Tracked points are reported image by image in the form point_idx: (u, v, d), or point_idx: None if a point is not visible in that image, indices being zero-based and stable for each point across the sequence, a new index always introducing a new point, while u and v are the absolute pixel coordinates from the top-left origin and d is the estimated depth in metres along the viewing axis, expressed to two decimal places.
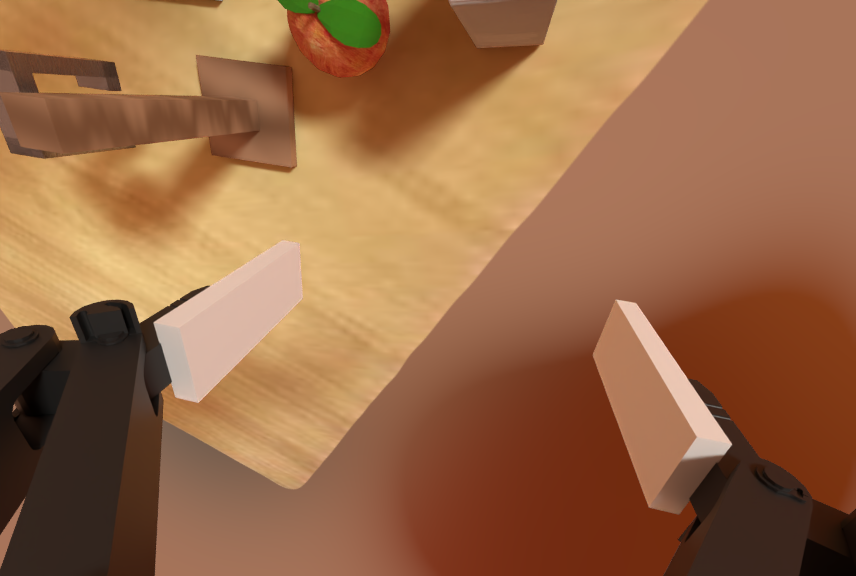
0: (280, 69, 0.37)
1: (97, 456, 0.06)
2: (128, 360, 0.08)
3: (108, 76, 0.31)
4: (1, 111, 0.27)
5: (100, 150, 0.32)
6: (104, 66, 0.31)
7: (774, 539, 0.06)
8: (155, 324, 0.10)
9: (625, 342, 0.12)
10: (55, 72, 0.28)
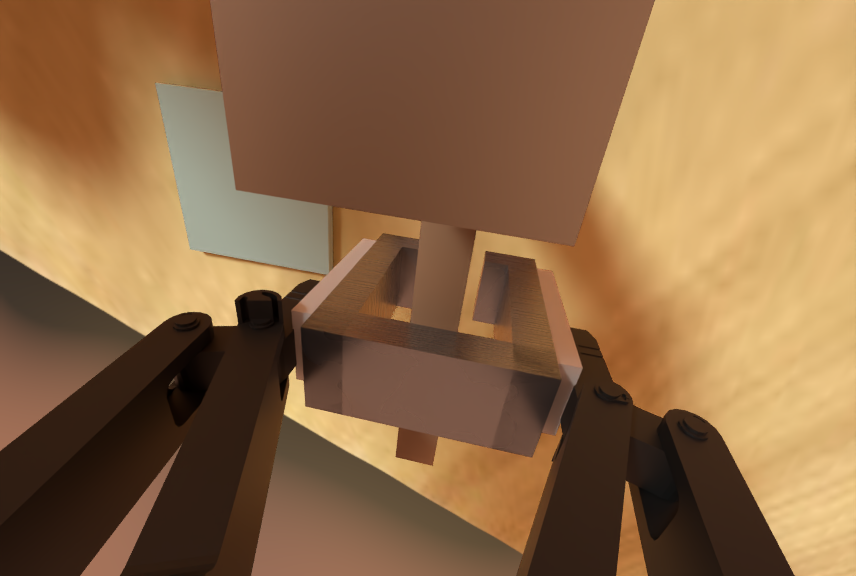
0: None
1: (232, 432, 0.07)
2: (269, 347, 0.09)
3: (401, 244, 0.16)
4: (433, 418, 0.11)
5: (540, 295, 0.13)
6: (384, 242, 0.16)
7: (610, 439, 0.08)
8: (292, 312, 0.11)
9: None
10: (370, 287, 0.12)
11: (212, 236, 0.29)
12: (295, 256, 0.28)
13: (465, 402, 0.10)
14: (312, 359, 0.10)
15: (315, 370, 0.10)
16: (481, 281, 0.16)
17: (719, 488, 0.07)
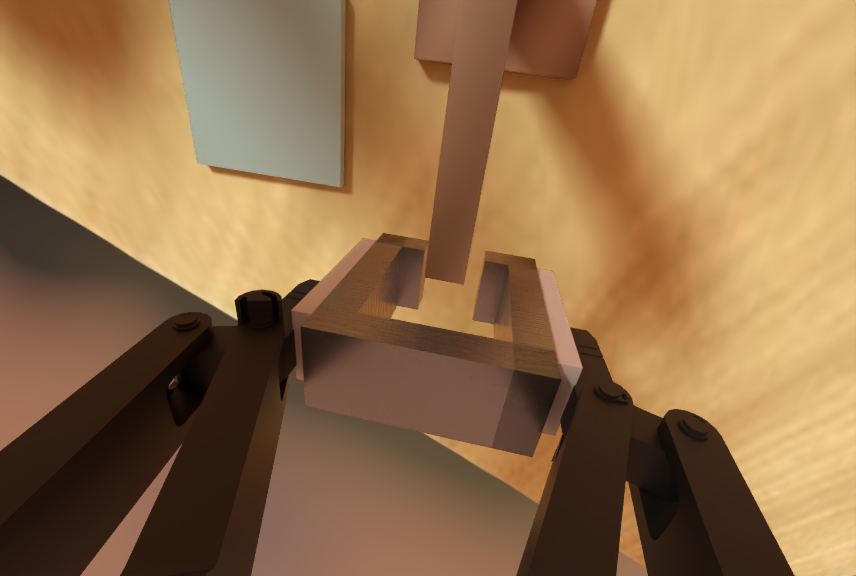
0: None
1: (231, 432, 0.07)
2: (269, 347, 0.09)
3: (401, 243, 0.16)
4: (433, 418, 0.11)
5: (540, 295, 0.13)
6: (384, 242, 0.16)
7: (610, 439, 0.08)
8: (292, 312, 0.11)
9: None
10: (370, 286, 0.12)
11: (220, 147, 0.28)
12: (306, 167, 0.28)
13: (465, 402, 0.10)
14: (312, 358, 0.10)
15: (315, 370, 0.10)
16: (481, 281, 0.16)
17: (719, 488, 0.07)
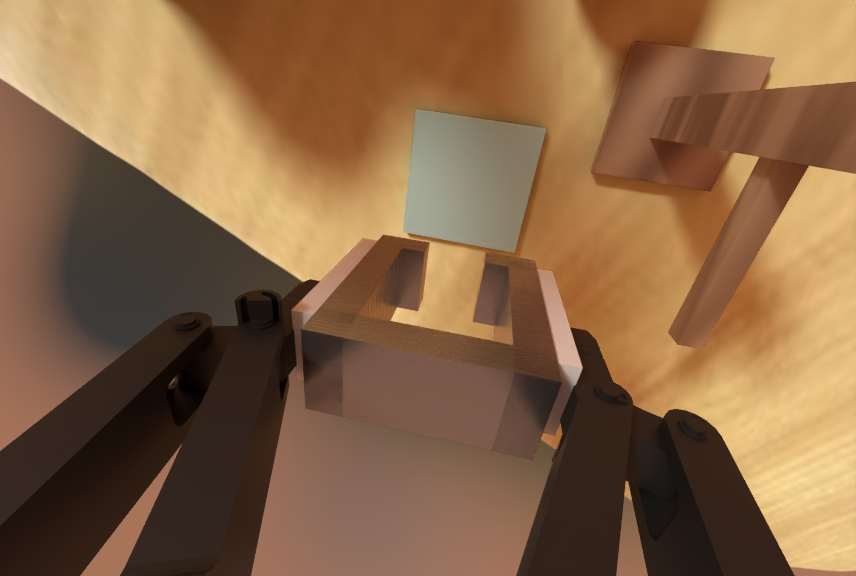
0: (638, 50, 0.28)
1: (232, 432, 0.07)
2: (269, 347, 0.09)
3: (401, 245, 0.16)
4: (433, 420, 0.11)
5: (540, 297, 0.13)
6: (384, 243, 0.16)
7: (610, 439, 0.08)
8: (292, 312, 0.11)
9: None
10: (371, 288, 0.12)
11: (425, 222, 0.38)
12: (491, 238, 0.38)
13: (465, 404, 0.10)
14: (313, 361, 0.10)
15: (315, 372, 0.10)
16: (481, 282, 0.16)
17: (719, 488, 0.07)
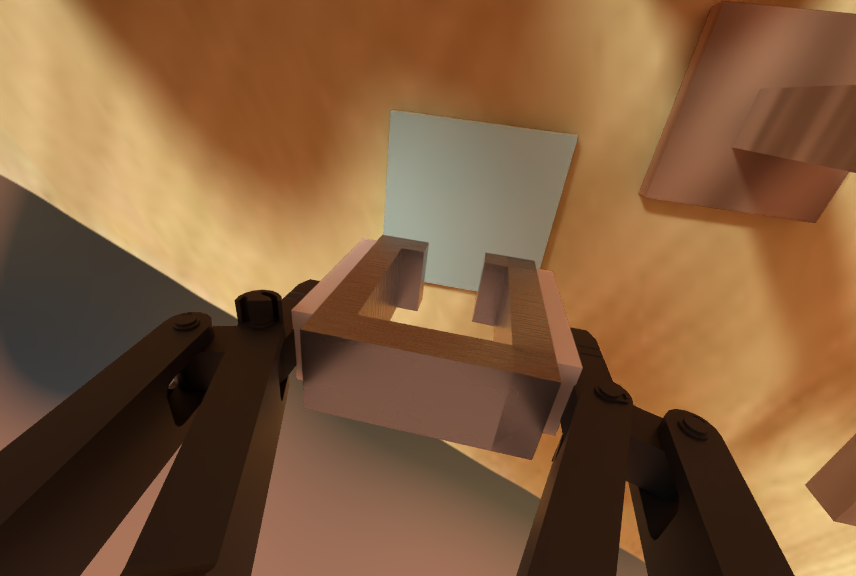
0: (725, 15, 0.18)
1: (231, 433, 0.07)
2: (269, 347, 0.09)
3: (401, 245, 0.16)
4: (433, 421, 0.11)
5: (540, 297, 0.13)
6: (384, 243, 0.16)
7: (610, 439, 0.08)
8: (292, 312, 0.11)
9: None
10: (370, 289, 0.12)
11: None
12: None
13: (465, 405, 0.10)
14: (311, 361, 0.10)
15: (314, 372, 0.10)
16: (481, 282, 0.16)
17: (719, 488, 0.07)
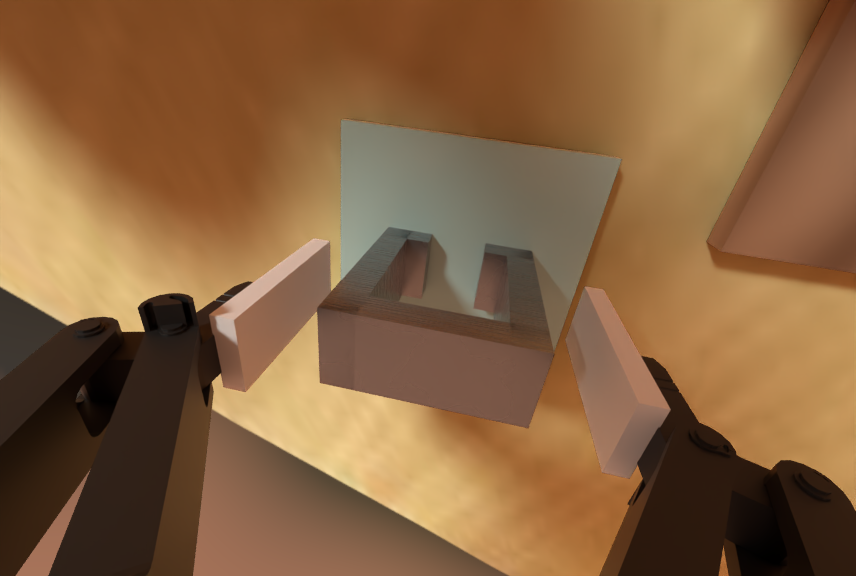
0: None
1: (151, 443, 0.07)
2: (185, 352, 0.09)
3: (406, 236, 0.17)
4: (437, 392, 0.12)
5: (536, 282, 0.14)
6: (390, 234, 0.17)
7: (706, 493, 0.07)
8: (210, 316, 0.10)
9: (590, 325, 0.13)
10: (379, 274, 0.13)
11: None
12: None
13: (467, 376, 0.11)
14: (327, 337, 0.11)
15: (330, 348, 0.11)
16: (481, 271, 0.17)
17: (843, 558, 0.06)
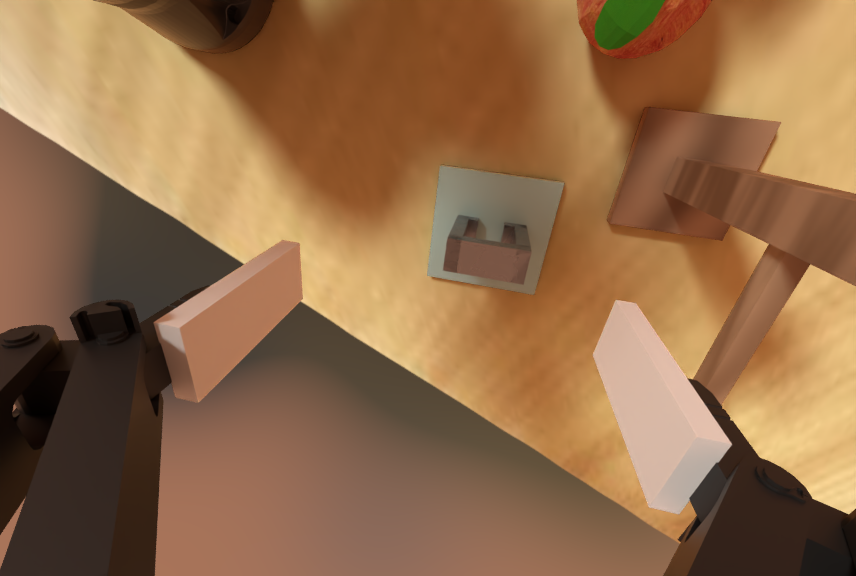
0: (651, 115, 0.30)
1: (96, 455, 0.06)
2: (128, 360, 0.08)
3: (467, 218, 0.36)
4: (489, 271, 0.31)
5: (527, 235, 0.33)
6: (460, 217, 0.36)
7: (774, 539, 0.06)
8: (155, 324, 0.10)
9: (625, 342, 0.12)
10: (463, 230, 0.33)
11: None
12: None
13: (500, 263, 0.30)
14: (449, 250, 0.31)
15: (449, 254, 0.31)
16: (503, 234, 0.36)
17: None
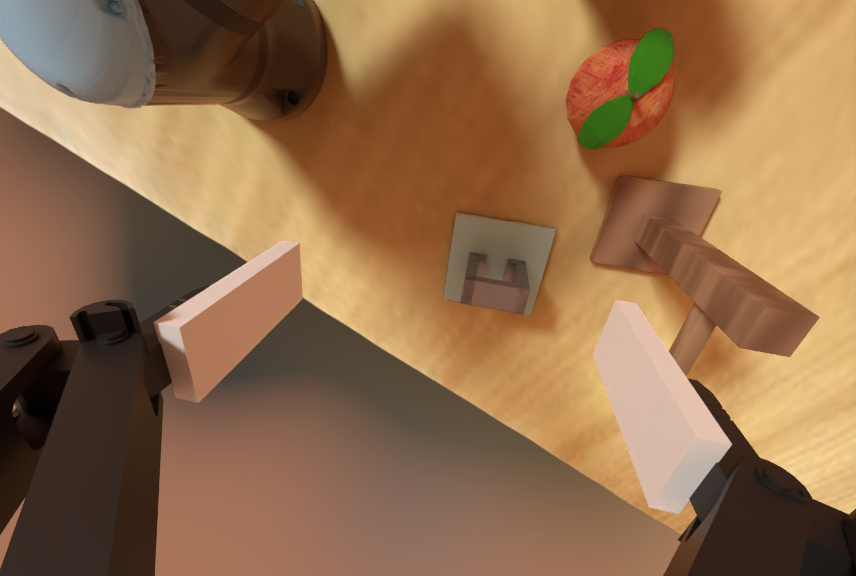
0: (623, 182, 0.39)
1: (96, 455, 0.06)
2: (128, 360, 0.08)
3: (478, 255, 0.45)
4: (497, 304, 0.40)
5: (526, 272, 0.42)
6: (472, 255, 0.45)
7: (774, 539, 0.06)
8: (155, 324, 0.10)
9: (625, 342, 0.12)
10: (475, 269, 0.41)
11: (460, 292, 0.49)
12: None
13: (506, 298, 0.39)
14: (465, 287, 0.39)
15: (465, 291, 0.39)
16: (506, 269, 0.45)
17: None
